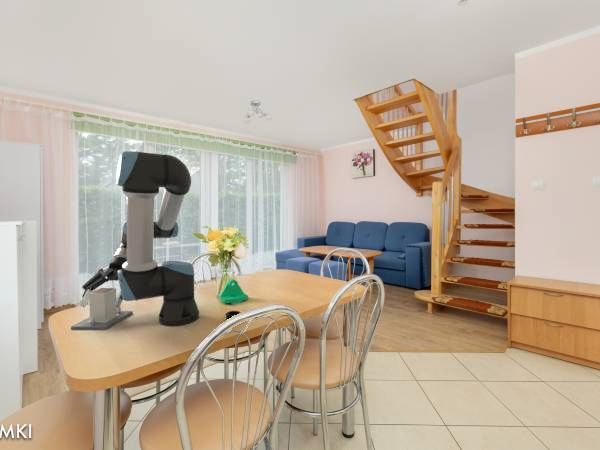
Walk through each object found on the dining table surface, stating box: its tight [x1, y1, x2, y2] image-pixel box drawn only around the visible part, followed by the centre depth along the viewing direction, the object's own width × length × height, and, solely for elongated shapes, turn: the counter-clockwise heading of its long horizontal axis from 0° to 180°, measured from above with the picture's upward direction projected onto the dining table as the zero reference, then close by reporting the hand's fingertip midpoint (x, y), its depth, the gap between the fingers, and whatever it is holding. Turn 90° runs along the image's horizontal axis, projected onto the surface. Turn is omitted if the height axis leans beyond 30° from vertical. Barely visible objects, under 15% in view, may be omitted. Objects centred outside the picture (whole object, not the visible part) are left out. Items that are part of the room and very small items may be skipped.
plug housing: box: [88, 287, 117, 321], centre depth 119 cm, size 6×7×11 cm
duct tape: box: [224, 310, 242, 321], centre depth 121 cm, size 8×10×3 cm
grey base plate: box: [70, 306, 133, 331], centre depth 119 cm, size 13×17×4 cm
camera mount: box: [219, 278, 249, 305], centre depth 145 cm, size 12×8×10 cm, turn 124°
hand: (99, 306), depth 116 cm, fingers open, 13 cm apart
